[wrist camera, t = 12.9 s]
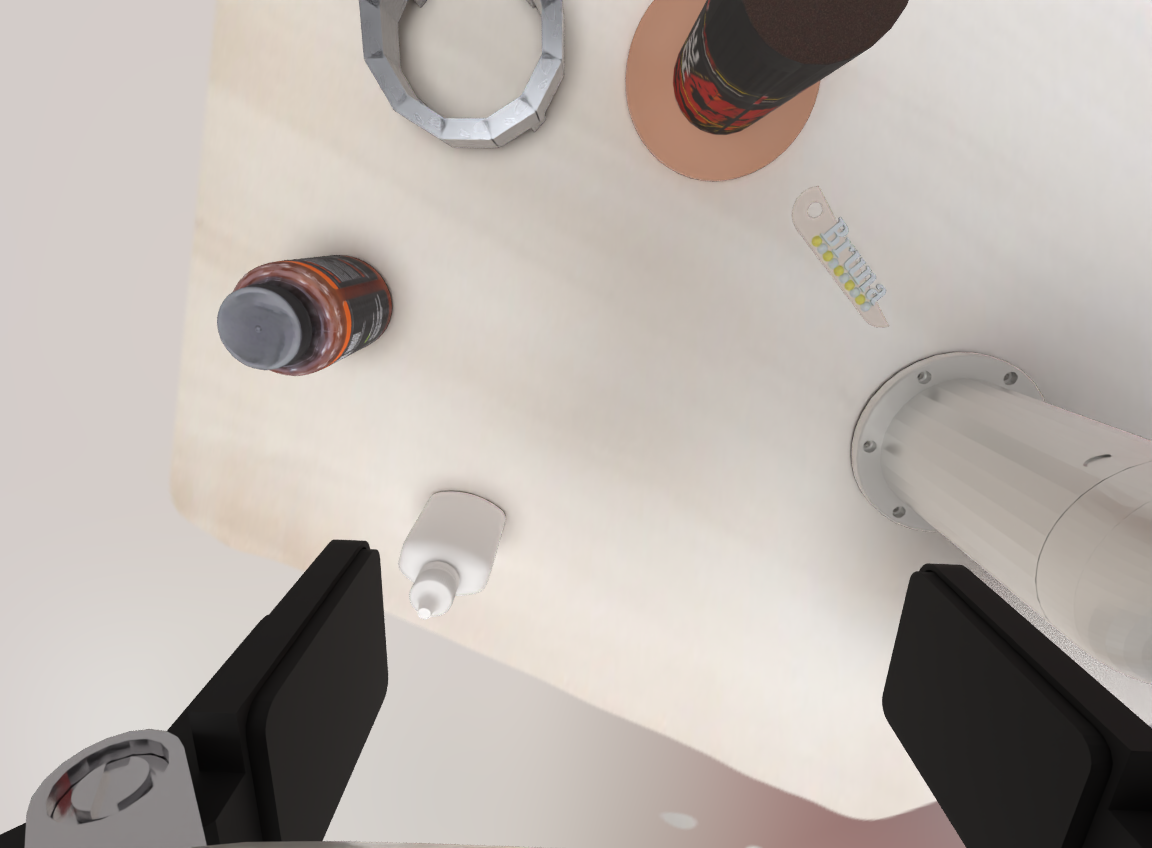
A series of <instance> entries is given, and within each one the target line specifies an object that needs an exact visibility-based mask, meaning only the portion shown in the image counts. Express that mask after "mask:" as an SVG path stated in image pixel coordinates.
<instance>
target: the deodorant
mask: <svg viewBox="0 0 1152 848" xmlns="http://www.w3.org/2000/svg"><path fill="white" fill-rule="evenodd" d="M908 1H909V0H707V1H706V3H705V4H704V6H703V8H702V10H701V12H700V14H699V16H698V18H697V20H696V21H695V23H694V25H693V27H692V29H691V31H690V33H689V35H688V37H687V39H686V40H685V42H684V44H683V46H682V48H681V50H680V52H679V54H678V57H677V60H676V64H675V67H674V75H673V87H674V93H675V99H676V101H677V103H678V106H679V108H680V110H681V112H682V113H683V115H684V116H685V117H686V118H687V120H688V121H689V122H690V123H691V124H693V125H694V126H695V127H697V128H698V129H700V130H702V131H705V132H707V133H710V134H714V135H728V134H732V133H736V132H740V131H742V130H744V129H745V128H747V127H749V126H751V125H752V124H754V123H755V122H757V121H758V120H760V119H762V118H763V117H765V116H766V115H768V114H769V113H771V112H772V111H774V110H775V109H777V108H778V107H780V106H781V105H783V104H785V103H786V102H788V101H789V100H791V99H792V98H794V97H795V96H797V95H798V94H800V93H801V92H803V91H804V90H806V89H808V88H809V87H811V86H812V85H814V84H815V83H817V82H818V81H820V80H821V79H823V78H824V77H826V76H827V75H829V74H831V73H832V72H834V71H835V70H837V69H838V68H840V67H841V66H843V65H844V64H846V63H847V62H849V61H850V60H852V59H854V58H855V57H857V56H858V55H860V54H861V53H863V52H864V51H866V50H867V49H869V48H870V47H872V46H873V45H874V44H875V43H876V42H877V41H878V40H879V39H880V38H882V37H883V36H884V35H885V34H886V33H887V32H888V31H889V30H890V29H891V28H892V26H893V25H894V23H895V22H896V21H897V19H898V18H899V16H900V15H901V13H902V12H903V10H904V9H905V7H906V6H907V3H908Z"/></svg>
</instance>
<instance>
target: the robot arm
mask: <svg viewBox="0 0 1152 848" xmlns="http://www.w3.org/2000/svg"><path fill="white" fill-rule="evenodd" d="M919 374H920V376H919V377H918V375H919ZM917 377H918V378H917ZM866 442H867V444H865V443H866ZM864 444H865V445H864ZM852 467H853V472H854V476H855V479H856V481H857V484H858V486H859V488H860V490H861V492H862V493H863V495H864V496H865V497H866V498H867V500H868V501H869V502H870V504H872V505H873V506H874V507H875V508H876V509H877V510H878V511H879V512H880V513H881V514H883V515H884V516H885V517H887V518H888V519H890V520H891V521H893V522H895V523H897V524H900V525H902V526H905V527H907V528H910V529H915V530H920V531H926V532H940V533H941V534H942V535H943V536H945V537H946V538H947V539H948V540H949V541H951V542H952V543H953V544H954V545H955V546H957V547H958V548H959V549H960V550H961V551H963V552H964V553H965V554H966V555H967V556H969V557H970V558H971V559H972V560H973V561H975V562H976V563H977V564H978V565H979V566H981V567H982V568H983V569H984V570H985V571H987V572H988V573H989V574H990V575H991V576H993V577H994V578H995V579H996V580H997V581H999V582H1000V583H1001V584H1002V585H1003V586H1005V587H1006V588H1007V589H1008V590H1009V591H1011V592H1012V593H1013V594H1014V595H1015V596H1017V597H1018V598H1019V599H1020V600H1021V601H1023V602H1024V603H1025V604H1026V605H1027V606H1029V607H1030V608H1031V609H1032V610H1033V611H1035V612H1036V613H1037V614H1038V615H1039V616H1041V617H1042V618H1043V619H1044V620H1045V621H1047V622H1048V623H1049V624H1050V625H1051V626H1053V627H1054V628H1055V629H1056V630H1057V631H1059V632H1060V633H1061V634H1063V635H1064V636H1065V637H1066V638H1068V639H1069V640H1070V641H1071V642H1072V643H1074V644H1075V645H1076V646H1077V647H1078V648H1080V649H1081V650H1082V651H1084V652H1085V653H1087V654H1088V655H1089V656H1091V657H1092V658H1094V659H1095V660H1097V661H1098V662H1100V663H1102V664H1104V665H1105V666H1107V667H1109V668H1111V669H1113V670H1115V671H1117V672H1119V673H1121V674H1124V675H1126V676H1129V677H1131V678H1134V679H1136V680H1139V681H1142V682H1145V683H1148V684H1152V441H1151V440H1148V439H1145V438H1143V437H1140V436H1137V435H1134V434H1131V433H1129V432H1126V431H1123V430H1120V429H1118V428H1115V427H1112V426H1109V425H1106V424H1104V423H1101V422H1098V421H1095V420H1093V419H1090V418H1087V417H1084V416H1081V415H1079V414H1076V413H1073V412H1070V411H1068V410H1065V409H1062V408H1059V407H1056V406H1054V405H1051V404H1048V403H1045V401H1044V398H1043V395H1042V394H1041V392H1040V391H1039V389H1038V387H1037V386H1036V384H1035V383H1034V381H1033V380H1032V379H1030V378H1029V377H1028V376H1027V375H1026V374H1025V373H1024V372H1023V371H1022V370H1021V369H1019V368H1017V367H1015V366H1014V365H1012V364H1010V363H1009V362H1007V361H1004V360H1001V359H998V358H995V357H992V356H988V355H983V354H979V353H974V352H952V353H947V354H941V355H935V356H932V357H930V358H927V359H924V360H921V361H918V362H916V363H914V364H913V365H911V366H909V367H907V368H905V369H904V370H902V371H900V372H899V373H897V374H896V375H895V376H894V377H892V378H891V379H890V380H889V381H887V382H886V383H885V384H884V385H883V386H882V387H881V388H880V389H879V390H878V391H877V393H876V394H875V395H874V396H873V397H872V398H871V400H870V401H869V403H868V404H867V406H866V408H865V409H864V411H863V412H862V414H861V416H860V419H859V421H858V424H857V426H856V429H855V432H854V437H853V442H852ZM387 686H388V667H387V652H386V637H385V623H384V608H383V594H382V580H381V566H380V555H379V552H378V550H374V549H370V547H369V544H368V542H367V541H356V540H332V541H331V542H330V543H329V544H328V545H327V546H326V547H325V549H324V550H323V551H322V552H321V553H320V555H319V556H318V557H317V558H316V559H315V560H314V562H313V563H312V564H311V565H310V566H309V568H308V569H307V570H306V571H305V572H304V574H303V575H302V576H301V577H300V578H299V580H298V581H297V582H296V583H295V584H294V586H293V587H292V588H291V589H290V590H289V591H288V593H287V594H286V595H285V596H284V597H283V599H282V600H281V601H280V602H279V603H278V605H277V606H276V607H275V608H274V609H273V611H272V612H271V613H270V614H269V615H267V616H265V617H264V618H263V619H262V620H261V621H260V622H259V623H258V624H257V625H256V627H255V628H254V629H253V630H252V631H251V633H250V634H249V635H248V636H247V637H246V638H245V640H244V641H243V642H242V643H241V644H240V645H239V647H238V648H237V649H236V650H235V651H234V653H233V654H232V655H231V656H230V657H229V658H228V660H227V661H226V662H225V663H224V664H223V665H222V667H221V668H220V669H219V670H218V671H217V673H216V674H215V675H214V676H213V678H211V680H210V681H209V682H208V683H207V685H206V686H205V687H204V688H203V689H202V690H201V692H200V693H199V694H198V695H197V696H196V698H195V699H194V700H193V701H192V702H191V703H190V705H189V706H188V707H187V708H186V709H185V710H184V711H183V713H182V714H181V715H180V716H179V717H178V719H177V720H176V721H175V722H174V723H173V724H172V726H171V727H170V728H169V729H168V731H162V730H153V729H146V730H138V731H129V732H126V733H123V734H120V735H116V736H113V737H110V738H107V739H104V740H102V741H100V742H98V743H96V744H94V745H92V746H89V747H87V748H85V749H83V750H82V751H80V752H79V753H77V754H76V755H74V756H73V757H71V758H70V759H68V760H67V761H65V762H64V763H62V764H61V765H60V766H59V767H58V768H57V769H56V770H54V771H53V772H52V773H51V774H50V775H49V776H48V777H47V778H46V779H45V780H44V781H43V782H42V784H41V785H40V786H39V788H38V789H37V791H36V792H35V793H34V795H33V796H32V798H31V801H30V804H29V807H28V811H27V815H26V823H24V824H22V825H20V826H18V827H16V828H14V829H11V830H10V831H7V832H5V833H3V834H1V835H0V848H541V847H514V846H485V845H458V844H457V845H456V844H430V843H428V844H427V843H391V842H389V843H388V842H351V841H323V838H324V836H325V834H326V831H327V829H328V827H329V825H330V822H331V820H332V818H333V815H334V813H335V811H336V809H337V806H338V804H339V802H340V799H341V797H342V795H343V792H344V790H345V788H346V786H347V783H348V781H349V779H350V776H351V774H352V772H353V770H354V767H355V765H356V763H357V760H358V758H359V756H360V753H361V751H362V749H363V747H364V744H365V742H366V740H367V737H368V735H369V733H370V730H371V728H372V726H373V724H374V721H375V719H376V717H377V714H378V712H379V710H380V708H381V705H382V703H383V700H384V698H385V695H386V691H387ZM882 706H883V711H884V714H885V717H886V719H887V721H888V723H889V724H890V726H891V727H892V729H893V731H894V732H895V734H896V736H897V737H898V739H899V740H900V742H901V744H902V745H903V747H904V748H905V750H906V752H907V753H908V755H909V756H910V758H911V760H912V761H913V763H914V764H915V766H916V768H917V769H918V771H919V772H920V774H921V776H922V777H923V779H924V780H925V782H926V784H927V785H928V787H929V788H930V790H931V792H932V793H933V795H934V796H935V798H936V800H937V801H938V803H939V805H940V806H941V808H942V809H943V811H944V813H945V814H946V816H947V817H948V819H949V821H950V822H951V824H952V825H953V827H954V828H955V830H956V832H957V833H958V835H959V837H960V838H961V840H962V841H963V843H964V845H965V846H966V848H1152V728H1151V727H1149V726H1148V725H1147V724H1146V723H1145V722H1144V721H1143V720H1141V719H1140V718H1139V717H1138V716H1137V715H1136V714H1134V713H1133V712H1132V711H1131V710H1130V709H1129V708H1128V707H1126V706H1125V705H1124V704H1123V703H1122V702H1121V701H1120V700H1118V699H1117V698H1116V697H1115V696H1114V695H1113V694H1111V693H1110V692H1109V691H1108V690H1107V689H1106V688H1105V687H1103V686H1102V685H1101V684H1100V683H1099V682H1098V681H1096V680H1095V679H1094V678H1093V677H1092V676H1091V675H1090V674H1088V673H1087V672H1086V671H1085V670H1084V669H1083V668H1082V667H1080V666H1079V665H1078V664H1077V663H1076V662H1075V661H1073V660H1072V659H1071V658H1070V657H1069V656H1068V655H1067V654H1065V653H1064V652H1063V651H1062V650H1061V649H1060V648H1058V647H1057V646H1056V645H1055V644H1054V643H1053V642H1052V641H1050V640H1049V639H1048V638H1047V637H1046V636H1045V635H1044V634H1042V633H1041V632H1040V631H1039V630H1038V629H1037V628H1035V627H1034V626H1033V625H1032V624H1031V623H1030V622H1029V621H1027V620H1026V619H1025V618H1024V617H1023V616H1022V615H1020V614H1019V613H1018V612H1017V611H1016V610H1015V609H1014V608H1012V607H1011V606H1010V605H1009V604H1008V603H1007V602H1006V601H1004V600H1003V599H1002V598H1001V597H1000V596H999V595H997V594H996V593H995V592H994V591H993V590H992V589H991V588H989V587H988V586H987V585H986V584H985V583H984V582H982V581H981V580H980V579H979V578H978V577H977V576H976V575H974V574H973V573H972V572H971V571H970V570H969V569H968V568H966V567H964V566H963V565H950V564H925V565H923V566H922V568H921V569H920V571H919V572H918V571H916V572H914V573H913V574H912V575H911V577H910V580H909V584H908V589H907V593H906V597H905V602H904V606H903V610H902V614H901V619H900V623H899V627H898V632H897V636H896V640H895V645H894V649H893V653H892V657H891V662H890V666H889V670H888V675H887V679H886V683H885V687H884V692H883V697H882Z"/></svg>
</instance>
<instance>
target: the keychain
mask: <svg viewBox="0 0 1152 848" xmlns="http://www.w3.org/2000/svg"><path fill="white" fill-rule="evenodd" d="M815 202H817V203H820V204H821V206H822V213H821V215H820V216H818V217H816V218H812V217H810V216H809V214H808V208H809V206H810V205H811V204H812V203H815ZM792 219H793V223H794V225H795V227H796V229H797V231H798V232H799V233H800V235H801V236H802V237H803V239H804V240H805V241H806V243H807V244H808V245H809V247H810V248H811V249H812V251H813V252H814V253H815V255H816V256H817V257H818V259H819V260H820V261H821V263H822V264H823V265H824V267H825V268H826V269H827V271H828V272H829V273H830V275H831V276H832V277H833V279H834V280H835V281H836V283H837V284H838V285H839V287H840V288H841V289H842V291H843V292H844V293H845V295H846V296H847V297H848V299H849V300H850V301H851V303H852V304H853V305H854V307H855V308H856V309H857V311H858V312H859V313H860V315H861V316H862V317H863V319H864V320H865V321H866V322H867V323H868V324H869V325H872V326H874V327H881V328H884V327H888V326H889V325H888V323H887V321H886V319H885V317H884V315H883V313H882V311H881V309H880V307H879V305H878V303H877V301H878V300H879V299H880V298H881V297H883V296H884V295H885V293H886V289H885V287H884V286H883V285H881V284H877V285H876V288H877V289H880V288H882V290H881V291H880V292H879V293H878V292H877V291H876V290H875V289H870V287H869V285H870V284H872V283H873V282H874V281H875V279H876V275H875V274H874V273H872V272H871V271H872V270H871V269H870V267H869V266H866V270H865V271H864V272H862V271H861V269H860V268H861V267H862V266H863V265H864V264H866V262H865V261H864V259H863V258H860V262H859V263H857V261H856V259H857V258H858V257H859V256H861V255H860V254H859V252H858V251H857V250H855V246H854V245H852V244H850V243H851V241H850V240H849V239H848V238H846V239H845V237H844V236H846V235H847V234H848V231H849V229H848V226H847V225H846V223H845V222H844V221H843V219H842V218H841V217H839V218H838V219H839V222H838V223H837V221H836V219H835V217H834V215H833V213H832V211H831V209H830V207H829V205H828V203H827V201H826V199H825V197H824V195H823V193H822V191H821V189H820V187H819V186H815V187H812V188H809V189H807V190H806V191H804V192H802V193H801V195H800V196H799V197H798V198H797V199H796V201H795V204H794V206H793V210H792ZM841 226H844V230H843V231H841V229H840V227H841ZM854 250H855V251H854ZM853 251H854V252H855V254H854V255H853V253H852V252H853ZM869 274H870V275H871V277H870V278H869V279H868V280H867V281H866V279H865V277H866V276H867V275H869ZM873 293H875V294H876V296H874V295H873Z"/></svg>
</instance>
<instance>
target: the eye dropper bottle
mask: <svg viewBox="0 0 1152 848" xmlns="http://www.w3.org/2000/svg"><path fill="white" fill-rule="evenodd" d="M505 520H506V519H505V514H504V512H503V511H502V510H501V509H500V508H498V507H497V506H496V505H494V504H493V503H491V502H489V501H487V500H485V499H483V498H481V497H479V496H476V495H473V494H469V493H464V492H453V491H447V492H438V493H435V494H433V495H432V496H431V497H430V499H429V501H428V502H427V504H426V506H425V507H424V509H423V511H422V512H421V514H420V516H419V517H418V519H417V521H416V522H415V524H414V526H413V527H412V529H411V531H410V533H409V534H408V536H407V538H406V540H405V542H404V544H403V547H402V550H401V553H400V557H399V563H398V564H399V569H400V571H401V572H402V573H403V574H404V575H405V576H406V577H407V578H408V579H409V580H411V581H412V582H413V583H414V584H413V586H412V588H411V590H410V594H409V595H410V596H409V597H410V598H409V599H410V603H411V605H412V606H413V607H414V609H415V610H416V611H418V616H419V617H420V618H421V619H428V618H429V617H430V616H431V617H434V616H440V615H442V614H444V613H446V612H447V611H448V610H449V609H450V607H451V605H452V603H453V600H454V597H455V596H463V595H470V594H475V593H478V592H480V591H482V590H483V589H484V588H485V586H486V584H487V582H488V579H489V576H490V573H491V569H492V566H493V563H494V559H495V556H496V552H497V549H498V545H499V542H500V538H501V535H502V531H503V528H504V524H505Z"/></svg>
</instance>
